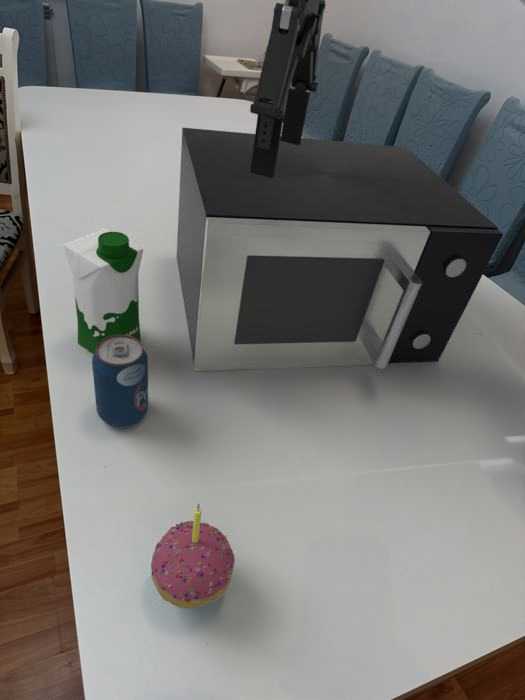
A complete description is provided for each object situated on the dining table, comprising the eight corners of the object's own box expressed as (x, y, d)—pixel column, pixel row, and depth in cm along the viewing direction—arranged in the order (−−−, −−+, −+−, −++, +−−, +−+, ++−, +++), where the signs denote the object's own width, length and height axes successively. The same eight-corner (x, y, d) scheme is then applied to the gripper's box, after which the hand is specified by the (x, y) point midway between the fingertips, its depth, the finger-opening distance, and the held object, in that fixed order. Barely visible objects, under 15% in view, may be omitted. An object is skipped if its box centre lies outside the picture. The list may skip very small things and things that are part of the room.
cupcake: (153, 545, 56) (154, 484, 49) (227, 543, 58) (240, 484, 50) (148, 626, 50) (148, 571, 42) (232, 621, 51) (247, 567, 44)
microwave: (439, 365, 89) (507, 235, 73) (195, 374, 78) (208, 223, 61) (368, 261, 115) (406, 147, 98) (176, 256, 104) (182, 127, 87)
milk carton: (107, 370, 76) (99, 256, 63) (68, 343, 79) (53, 229, 66) (149, 344, 82) (149, 235, 69) (111, 319, 85) (104, 211, 72)
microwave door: (389, 389, 82) (451, 253, 66) (199, 399, 74) (214, 247, 58) (373, 358, 88) (425, 226, 71) (193, 364, 80) (206, 216, 63)
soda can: (150, 428, 69) (151, 365, 61) (98, 434, 67) (91, 370, 59) (145, 392, 74) (144, 329, 66) (96, 397, 72) (89, 333, 64)
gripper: (304, -60, 59) (275, 125, 73) (236, -70, 40) (214, 182, 54) (365, -48, 58) (324, 137, 72) (325, -53, 39) (280, 200, 53)
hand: (277, 157), depth 63 cm, fingers open, 13 cm apart
